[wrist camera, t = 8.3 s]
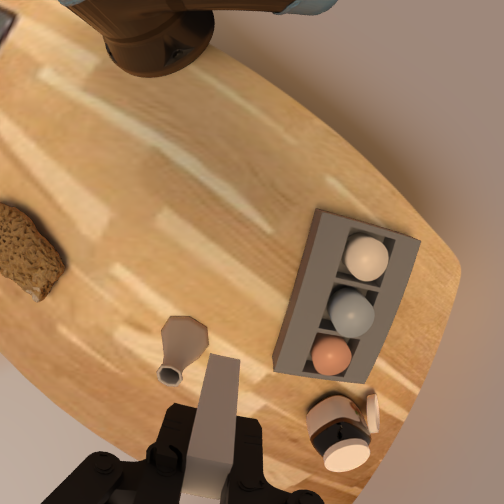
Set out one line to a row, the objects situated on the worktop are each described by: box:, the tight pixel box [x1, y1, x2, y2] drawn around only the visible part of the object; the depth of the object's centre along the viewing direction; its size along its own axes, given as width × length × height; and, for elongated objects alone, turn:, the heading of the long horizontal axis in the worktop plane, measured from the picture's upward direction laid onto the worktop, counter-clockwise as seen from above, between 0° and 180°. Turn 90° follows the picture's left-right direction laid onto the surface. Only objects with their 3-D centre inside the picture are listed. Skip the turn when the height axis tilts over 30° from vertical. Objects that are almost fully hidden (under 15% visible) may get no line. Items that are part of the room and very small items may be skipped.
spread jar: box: [306, 394, 379, 472], centre depth 41 cm, size 12×11×12 cm
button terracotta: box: [310, 333, 352, 376], centre depth 40 cm, size 5×5×4 cm
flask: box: [157, 317, 209, 387], centre depth 39 cm, size 7×7×10 cm
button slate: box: [327, 287, 375, 338], centre depth 37 cm, size 5×5×4 cm
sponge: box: [0, 203, 64, 302], centre depth 37 cm, size 13×8×20 cm
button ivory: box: [341, 233, 388, 281], centre depth 37 cm, size 5×5×4 cm
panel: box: [272, 209, 421, 384], centre depth 40 cm, size 22×14×4 cm, turn 167°
